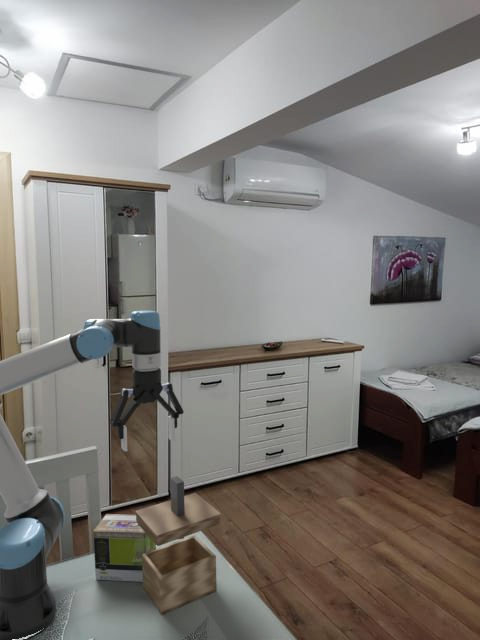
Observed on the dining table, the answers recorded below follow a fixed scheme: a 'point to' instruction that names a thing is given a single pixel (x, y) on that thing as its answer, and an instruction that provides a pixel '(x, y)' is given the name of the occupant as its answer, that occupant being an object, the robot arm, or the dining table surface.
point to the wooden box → (178, 574)
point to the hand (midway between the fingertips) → (148, 444)
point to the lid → (177, 515)
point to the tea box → (120, 548)
